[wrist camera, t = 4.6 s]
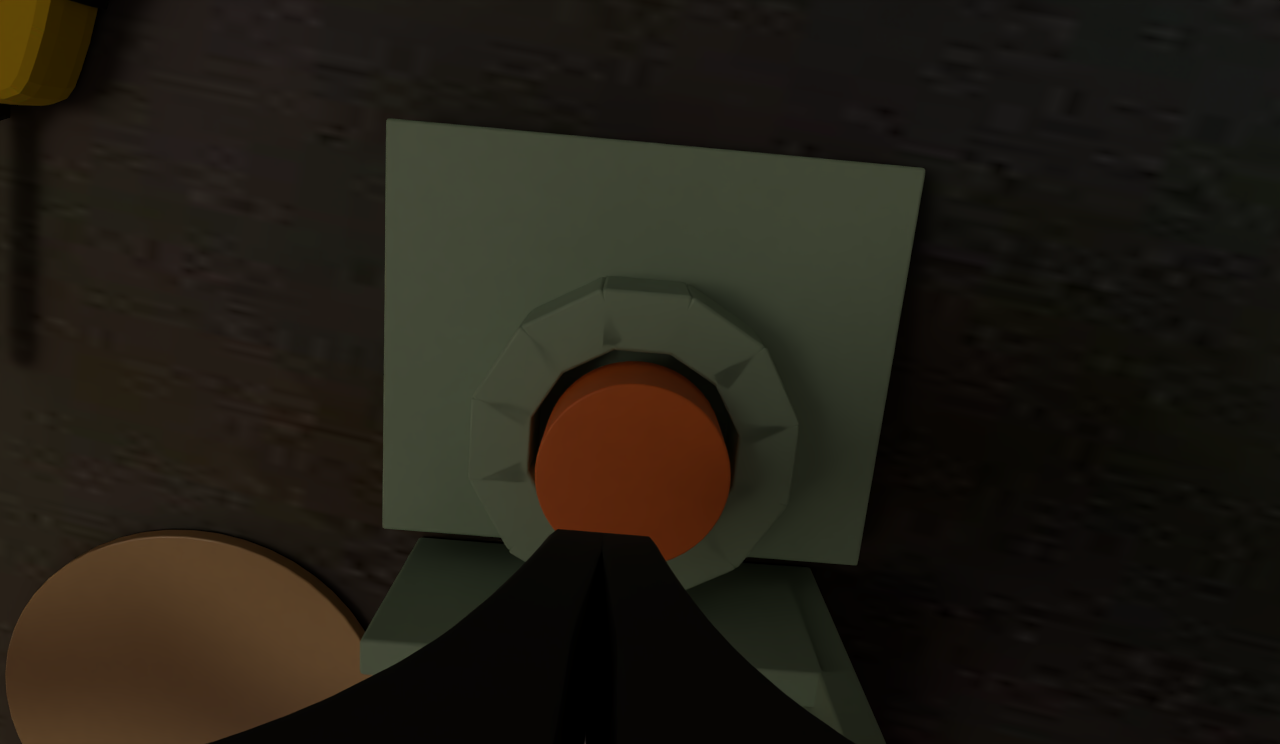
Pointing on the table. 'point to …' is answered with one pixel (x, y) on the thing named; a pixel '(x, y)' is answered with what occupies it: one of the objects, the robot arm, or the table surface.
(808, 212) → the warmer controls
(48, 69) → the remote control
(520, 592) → the robot arm
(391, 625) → the frame
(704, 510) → the button
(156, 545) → the coaster
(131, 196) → the table surface
